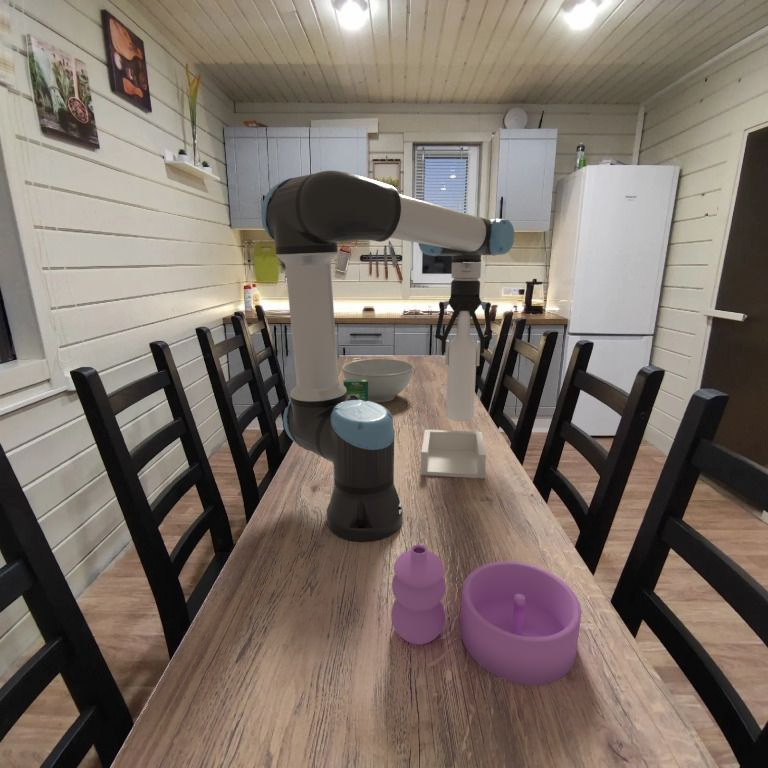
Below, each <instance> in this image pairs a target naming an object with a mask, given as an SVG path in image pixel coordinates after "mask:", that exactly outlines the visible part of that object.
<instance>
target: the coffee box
mask: <svg viewBox="0 0 768 768" xmlns="http://www.w3.org/2000/svg"><path fill="white" fill-rule="evenodd" d="M342 385H344V386H345V387H346V390H347V401H349V400H362V401H364V402H367V401H368V381H367V380H345V379H343V382H342Z"/></svg>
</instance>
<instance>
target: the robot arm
mask: <svg viewBox="0 0 768 768" xmlns="http://www.w3.org/2000/svg"><path fill="white" fill-rule="evenodd" d="M260 211H261V212H260V216H261V217H260V218H261V223H262V226H263V230H264V231H265V233H266V234H267V235H268V236H269V237H270V239H271V240H272V241H273V242H274V248H275V256H276V257H277V258H278V260H280V261H281V262H282V263H283V264H284V266H285V275H286V285H287V294H288V295H287V296H288V303H289V305H288V306H289V316H290V328H291V335H292V336H291V337H292V347H293V348H292V349H293V356H294V357H293V358H294V369H295V379H296V385H295V386H294V388H293V389H292V390H291V391H290V396H289V397H290V400H289V401H288V405H287V406H286V407H285V408H284V412H283V416H282V417H283V418H282V419H283V420H282V421H283V426H284V430H285V433H286V434H287V436H288V437H289V438H290V439H291V440H292V441H293V442H294V443H295V444H297V445H298V446H299V447H301V448H303V449H304V450H306V451H310V452H312V453H314V454H316V455H318V456H319V457H321V458H324V459H325V460H326V461H329V462H331V463H332V465H333V478H334V479H333V481H334V484H333V489H332V493H331V497H330V501H329V502H328V503H329V504H328V506H327V508H326V525H327V527H328V529H329V530H330V532H332V533H333V534H335V535H336V536H338V537H340V538H342V539H345V540H349V541H354V542H371V541H376V540H381V539H385V538H387V537H389V536H391V535H393V534H394V533H396V532H397V531H398V530H399V528H401V526H402V524H403V521H404V520H403V517H404V516H403V515H404V514H403V512H404V511H403V507H402V506H403V505H402V503H401V501H400V497H399V495H398V492H397V489H396V486H395V480H394V479H395V478H394V476H395V475H394V474H395V468H394V467H395V465H394V464H395V433H396V431H395V427H394V419H393V415H392V413H391V412H390V411H389V409H388V408H386V407H385V406H383V405H381V404H380V403H378V402H370V401H367V402H364V401H362V400H349V401H347V390H346V387H345V386H344V385H343V383H341V382H340V380H339V368H338V367H339V365H338V353H337V339H336V338H337V337H336V326H335V323H336V322H335V310H334V294H333V293H334V292H333V281H332V267H331V266H332V265H331V264H332V262H333V260H334V259H335V258H336V256H338V254H339V253H338V251H339V250H338V243H345V242H354V241H355V242H357V241H375V242H378V243H379V242H380V243H382V242H386V241H388V240H389V239H395V240H401V241H406V242H410V243H411V242H412V243H417V244H418V247H419V250H420V251H421V252H422V254H424V255H426V256H433V257H449V256H450V257H451V278H452V280H451V282H450V283H451V284H450V296H449V299H448V300H445V301H439V302H438V306H439V307H438V308H439V315H438V319H437V325H436V330H435V333H434V334H435V335H434V337H435V339H437V340H440V341H441V350H440V351H441V353H443V354H444V355H445V357H444V358H445V359H444V365H445V366H448V349H449V346H450V340H449V339H448V336H449V335H450V332H451V330H452V328H453V326H454V323H455V322H456V321H457V315H459V311H469V312H470V315H471V319H472V321H473V324H474V328H475V329H476V330H475V331H476V333H477V335H478V338H479V340H477V341H476V347H477V358H476V367H480V358H481V357H480V356H481V354H484V352H485V345H486V342H487V341H491V340H492V339H493V334H492V323H491V316H490V315H491V314H490V313H491V312H490V311H491V307H492V303H491V302H490V301H483V300H482V299H481V297H480V291H481V282H480V280H479V279H480V278H481V271H482V256H495V257H496V256H498V255H499V256H500V255H506V254H507V253H509V251H511V249H512V247H513V245H514V242H515V240H514V239H515V229H514V228H515V227H514V225H513V224H512V223H511V221H510V220H509V219H506V218H498V217H496V218H494V219H490V218H489V219H487V218H484V217H480V216H476V215H472V214H470V213H466V212H462V211H458V210H456V209H452V208H448V207H446V206H445V207H444V206H441V205H437V204H434V203H431V202H427V201H425V200H420V199H417V198H413V197H410V196H406V195H403V194H400V192H399V191H398V190H397V188H396V187H394V186H393V185H391V184H388V183H385V182H381V181H378V180H375V179H370V178H367V177H365V176H363V175H362V176H360V175H358V174H354V173H350V172H346V171H339V170H324V171H318V172H316V173H312V174H306V175H302V176H296V177H290V178H287V179H285V180H283V181H281V182H279V183H277V184H275V185H274V186H272V187H271V188H270V189H269V191H268V192H267V193H266V194H265V196H264V199H263V201H262V205H261V210H260ZM448 306H450V307H451V309H452V311H453V312H452V315H451V316H450V318H449V321H448V323H447V325H446V327H445V329H444V332H443V334H441V331H442V326H443V321H444V316H445V310H447V308H448ZM480 306H481V309H482V310H483V312H484V313H483V314H484V324H485V333H486V335H484V334H483V331H482V328H481V325H480V323H479V320H478V316H477V315H476V311H477V309H478V308H479V307H480Z"/></svg>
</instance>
